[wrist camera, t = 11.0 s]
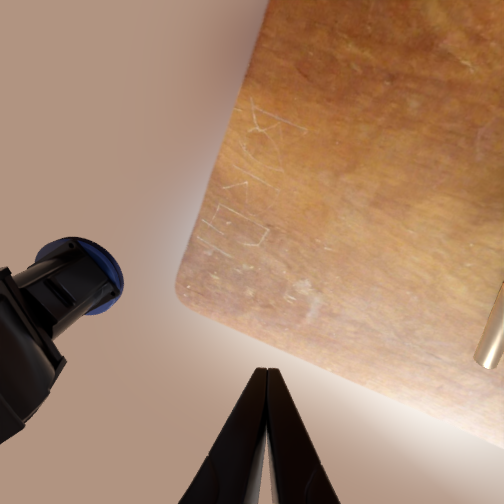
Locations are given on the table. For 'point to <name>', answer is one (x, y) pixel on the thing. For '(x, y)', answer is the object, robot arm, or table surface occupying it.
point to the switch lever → (492, 336)
